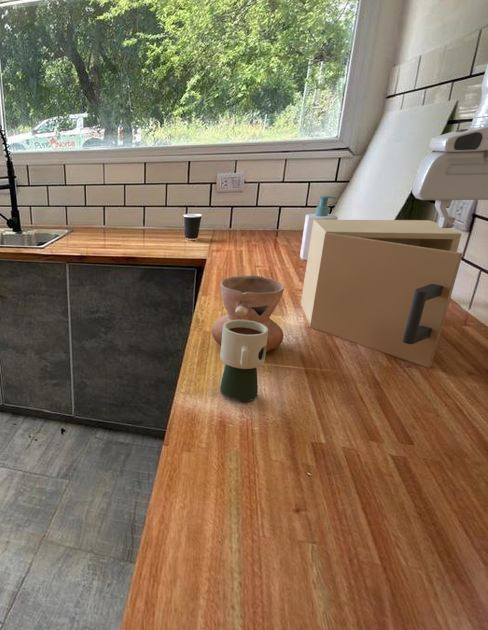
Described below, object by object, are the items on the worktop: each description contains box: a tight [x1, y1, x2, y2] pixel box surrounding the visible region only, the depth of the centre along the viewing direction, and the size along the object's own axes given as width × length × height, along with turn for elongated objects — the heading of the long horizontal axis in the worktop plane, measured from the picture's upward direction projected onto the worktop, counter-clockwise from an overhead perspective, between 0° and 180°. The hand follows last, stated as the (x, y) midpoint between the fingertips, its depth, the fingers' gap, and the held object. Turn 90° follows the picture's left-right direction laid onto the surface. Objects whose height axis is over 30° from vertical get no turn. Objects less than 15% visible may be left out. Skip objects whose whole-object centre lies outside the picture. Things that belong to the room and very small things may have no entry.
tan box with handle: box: [309, 233, 464, 369], centre depth 90 cm, size 7×24×22 cm, turn 29°
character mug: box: [219, 320, 268, 402], centre depth 77 cm, size 11×7×13 cm, turn 162°
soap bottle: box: [299, 195, 339, 262], centre depth 158 cm, size 10×9×22 cm
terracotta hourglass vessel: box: [210, 274, 285, 353], centre depth 96 cm, size 18×14×14 cm
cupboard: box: [300, 219, 462, 324], centre depth 105 cm, size 16×24×22 cm, turn 72°
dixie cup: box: [183, 213, 203, 240], centre depth 198 cm, size 8×8×11 cm
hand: (479, 228), depth 73 cm, fingers open, 8 cm apart
